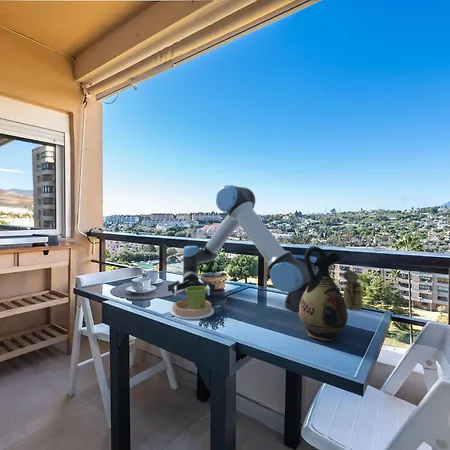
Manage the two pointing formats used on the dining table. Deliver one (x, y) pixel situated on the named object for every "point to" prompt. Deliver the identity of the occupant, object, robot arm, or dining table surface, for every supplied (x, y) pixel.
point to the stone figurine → (352, 291)
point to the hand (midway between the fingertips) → (192, 292)
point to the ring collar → (191, 310)
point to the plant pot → (196, 296)
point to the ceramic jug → (322, 299)
